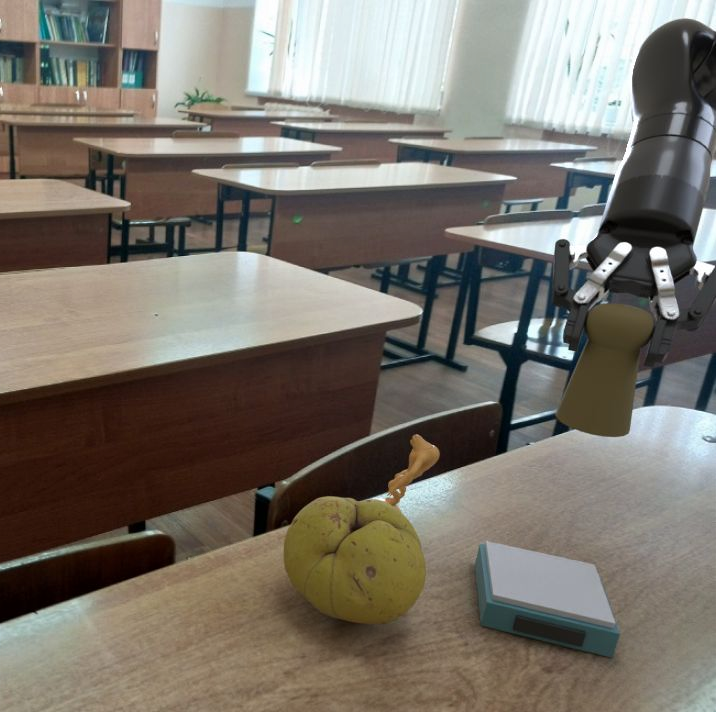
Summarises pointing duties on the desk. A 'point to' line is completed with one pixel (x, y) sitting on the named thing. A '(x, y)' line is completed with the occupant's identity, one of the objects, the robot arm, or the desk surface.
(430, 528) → the desk surface
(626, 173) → the robot arm
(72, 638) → the desk surface
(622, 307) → the cork
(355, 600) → the fruit
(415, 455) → the figurine
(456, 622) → the desk surface
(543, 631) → the scale
